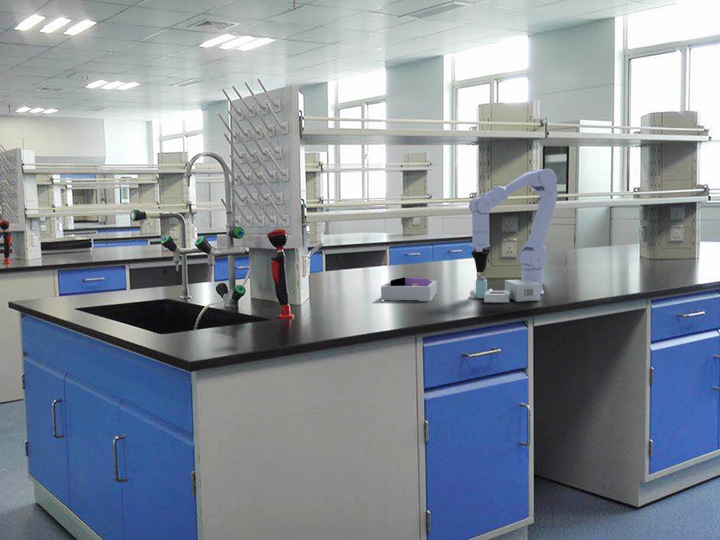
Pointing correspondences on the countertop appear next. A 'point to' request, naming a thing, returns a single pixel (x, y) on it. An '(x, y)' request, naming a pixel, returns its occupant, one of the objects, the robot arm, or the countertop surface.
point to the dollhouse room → (410, 282)
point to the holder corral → (409, 292)
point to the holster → (472, 293)
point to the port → (497, 297)
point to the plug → (481, 287)
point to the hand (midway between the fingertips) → (481, 270)
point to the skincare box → (523, 290)
